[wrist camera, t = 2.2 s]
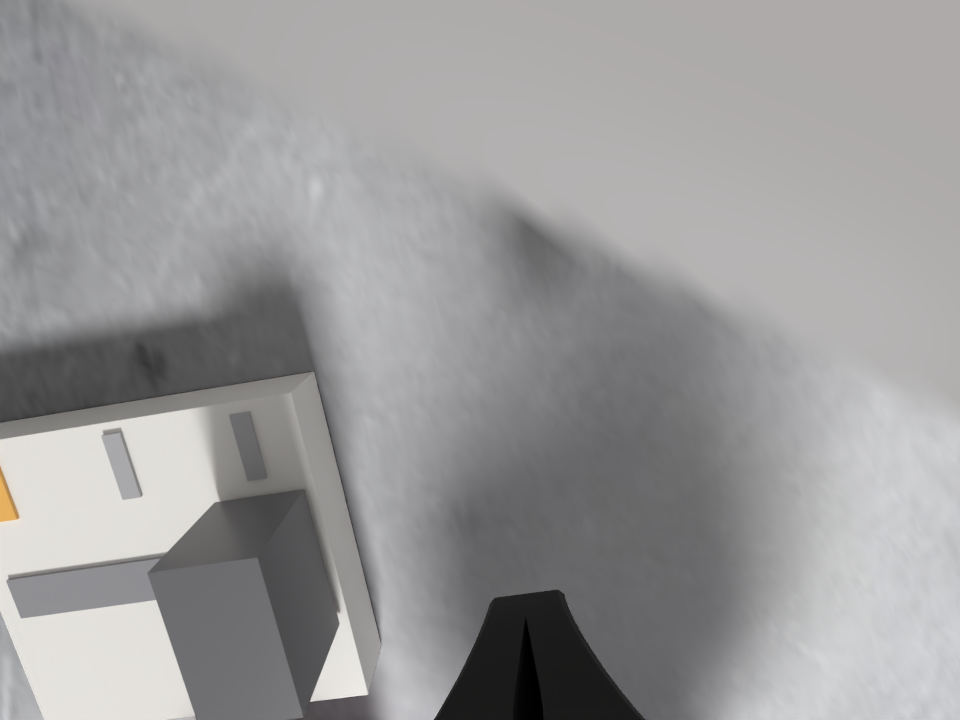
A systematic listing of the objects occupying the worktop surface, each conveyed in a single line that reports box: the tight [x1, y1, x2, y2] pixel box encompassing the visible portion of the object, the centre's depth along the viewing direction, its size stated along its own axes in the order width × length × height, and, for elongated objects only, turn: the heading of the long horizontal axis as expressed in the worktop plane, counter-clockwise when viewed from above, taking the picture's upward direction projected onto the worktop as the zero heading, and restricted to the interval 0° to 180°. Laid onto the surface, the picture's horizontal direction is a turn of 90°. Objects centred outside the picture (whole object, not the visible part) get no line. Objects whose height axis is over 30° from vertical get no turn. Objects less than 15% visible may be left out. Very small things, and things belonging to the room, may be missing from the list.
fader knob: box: [147, 489, 340, 720], centre depth 15 cm, size 4×2×3 cm, turn 10°
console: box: [0, 372, 381, 720], centre depth 18 cm, size 9×10×2 cm
